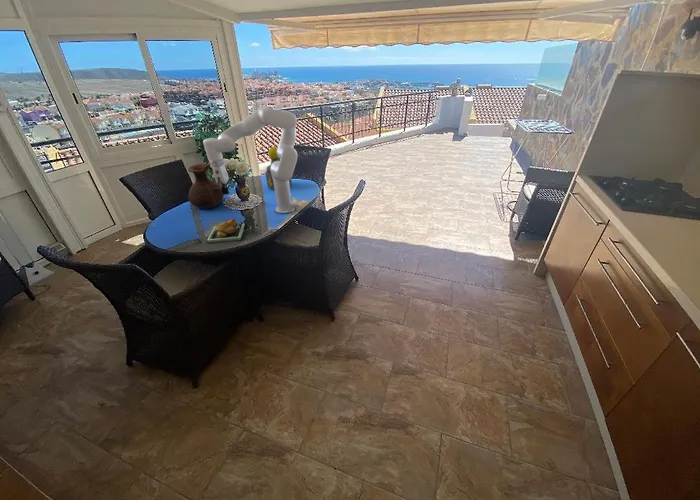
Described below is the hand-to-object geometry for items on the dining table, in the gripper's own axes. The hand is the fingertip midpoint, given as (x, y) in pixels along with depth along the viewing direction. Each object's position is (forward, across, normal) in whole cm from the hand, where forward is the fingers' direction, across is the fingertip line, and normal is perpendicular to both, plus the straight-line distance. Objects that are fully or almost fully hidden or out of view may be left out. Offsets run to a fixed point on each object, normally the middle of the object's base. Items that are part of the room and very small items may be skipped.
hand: (226, 193), depth 170 cm
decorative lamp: (+20, +56, -25) cm, 65 cm away
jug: (+18, +30, +22) cm, 41 cm away
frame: (+18, -14, +2) cm, 23 cm away
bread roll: (+19, -14, +2) cm, 24 cm away
